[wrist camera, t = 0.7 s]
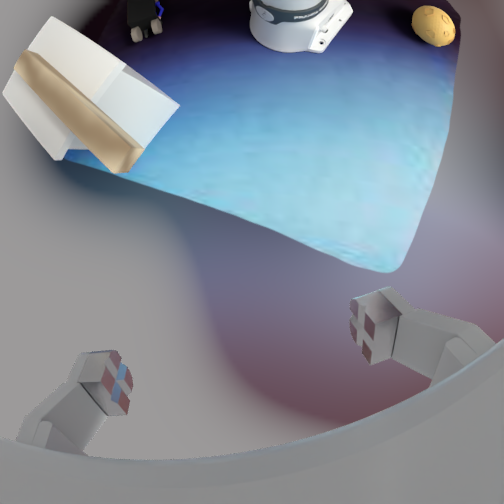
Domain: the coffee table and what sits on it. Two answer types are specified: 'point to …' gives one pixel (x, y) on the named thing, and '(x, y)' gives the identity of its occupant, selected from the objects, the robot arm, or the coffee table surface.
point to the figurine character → (143, 17)
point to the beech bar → (79, 114)
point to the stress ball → (433, 26)
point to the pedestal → (88, 90)
